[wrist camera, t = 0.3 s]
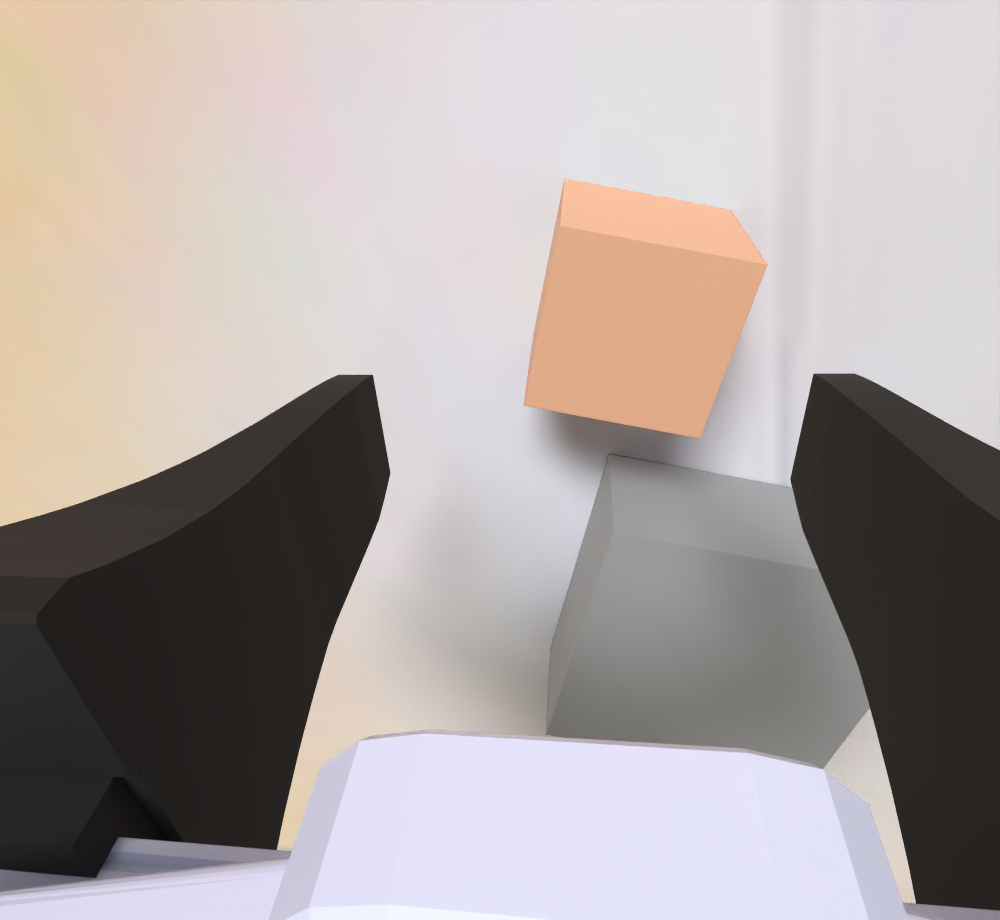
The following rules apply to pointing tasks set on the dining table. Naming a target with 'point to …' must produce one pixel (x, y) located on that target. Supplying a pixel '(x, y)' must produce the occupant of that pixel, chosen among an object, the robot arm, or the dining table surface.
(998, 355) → the dining table surface
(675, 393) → the peach block
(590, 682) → the base block
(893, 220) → the dining table surface
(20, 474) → the dining table surface
